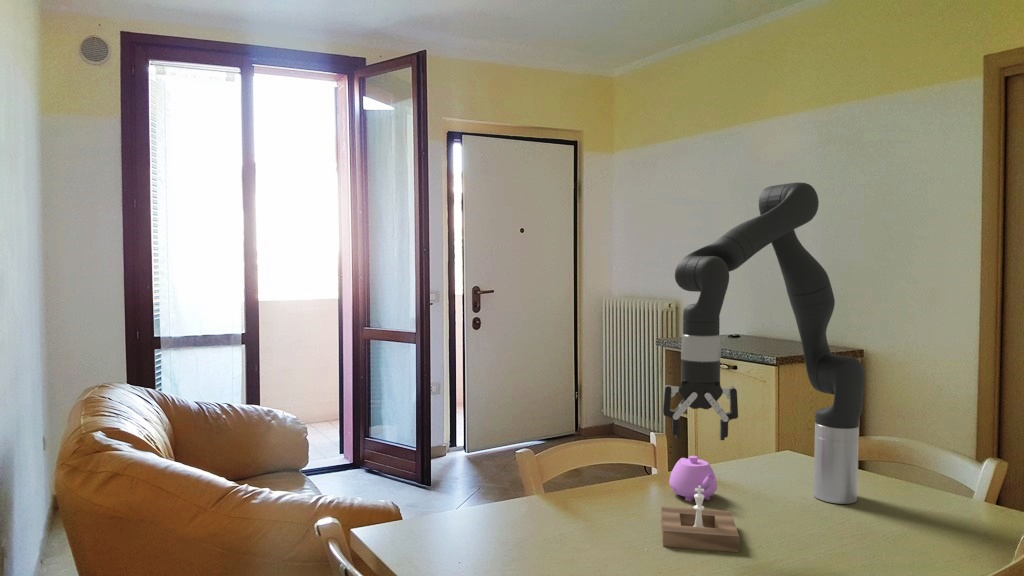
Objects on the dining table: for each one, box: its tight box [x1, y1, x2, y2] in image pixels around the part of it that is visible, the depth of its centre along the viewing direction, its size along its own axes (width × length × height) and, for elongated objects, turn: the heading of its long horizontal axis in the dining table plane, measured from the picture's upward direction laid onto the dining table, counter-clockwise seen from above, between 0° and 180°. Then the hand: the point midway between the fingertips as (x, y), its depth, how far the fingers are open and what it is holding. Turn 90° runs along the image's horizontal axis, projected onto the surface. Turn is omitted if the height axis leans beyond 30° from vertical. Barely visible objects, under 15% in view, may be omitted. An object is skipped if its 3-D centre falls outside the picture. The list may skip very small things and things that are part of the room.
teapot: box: [668, 455, 718, 502], centre depth 167 cm, size 10×15×9 cm
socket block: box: [660, 506, 740, 553], centre depth 143 cm, size 14×14×3 cm
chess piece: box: [692, 486, 705, 527], centre depth 143 cm, size 5×5×10 cm
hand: (699, 438), depth 143 cm, fingers open, 8 cm apart
